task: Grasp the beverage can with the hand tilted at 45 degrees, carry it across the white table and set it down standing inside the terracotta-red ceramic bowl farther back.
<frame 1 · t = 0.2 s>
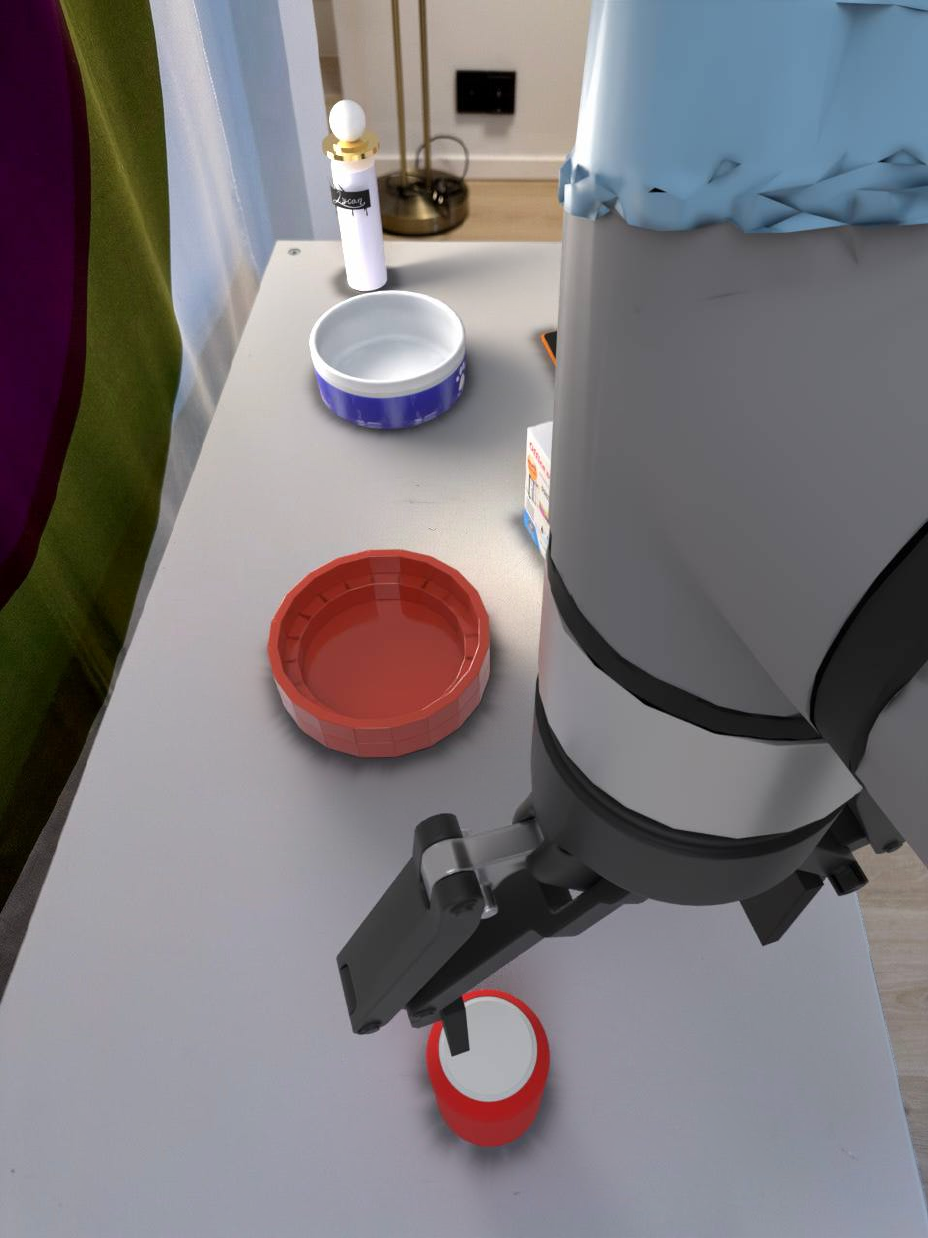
hand: (607, 964, 37), 21 cm above the table, tool pointing down, fingers open, 13 cm apart
beverage can: (488, 1090, 53), on the table
ink box: (583, 545, 79), on the table
dog bowl: (393, 384, 93), on the table
perfume bottle: (368, 286, 103), on the table
red bowl: (385, 669, 71), on the table
smartphone: (598, 382, 92), on the table
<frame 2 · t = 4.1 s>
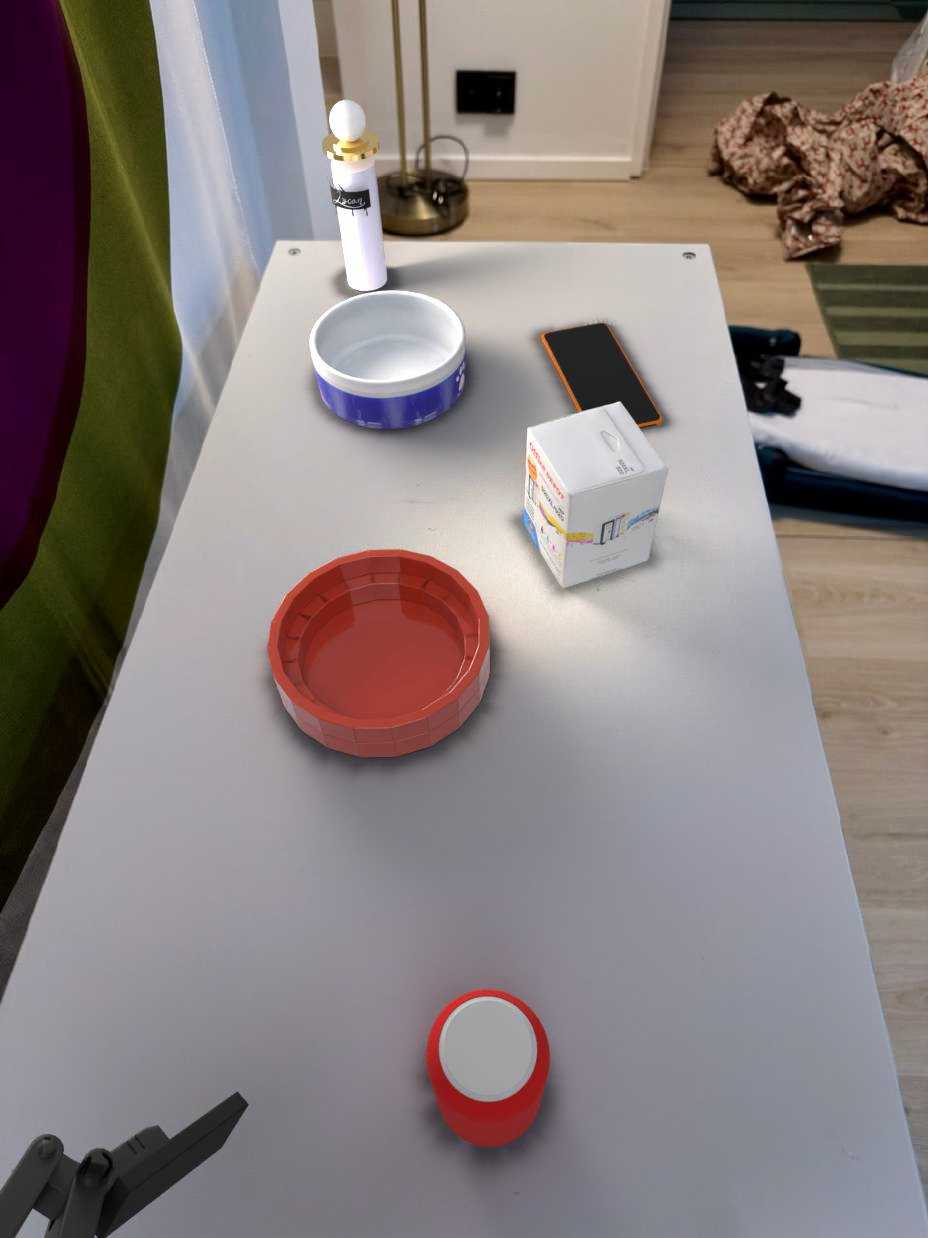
nothing on the table moved.
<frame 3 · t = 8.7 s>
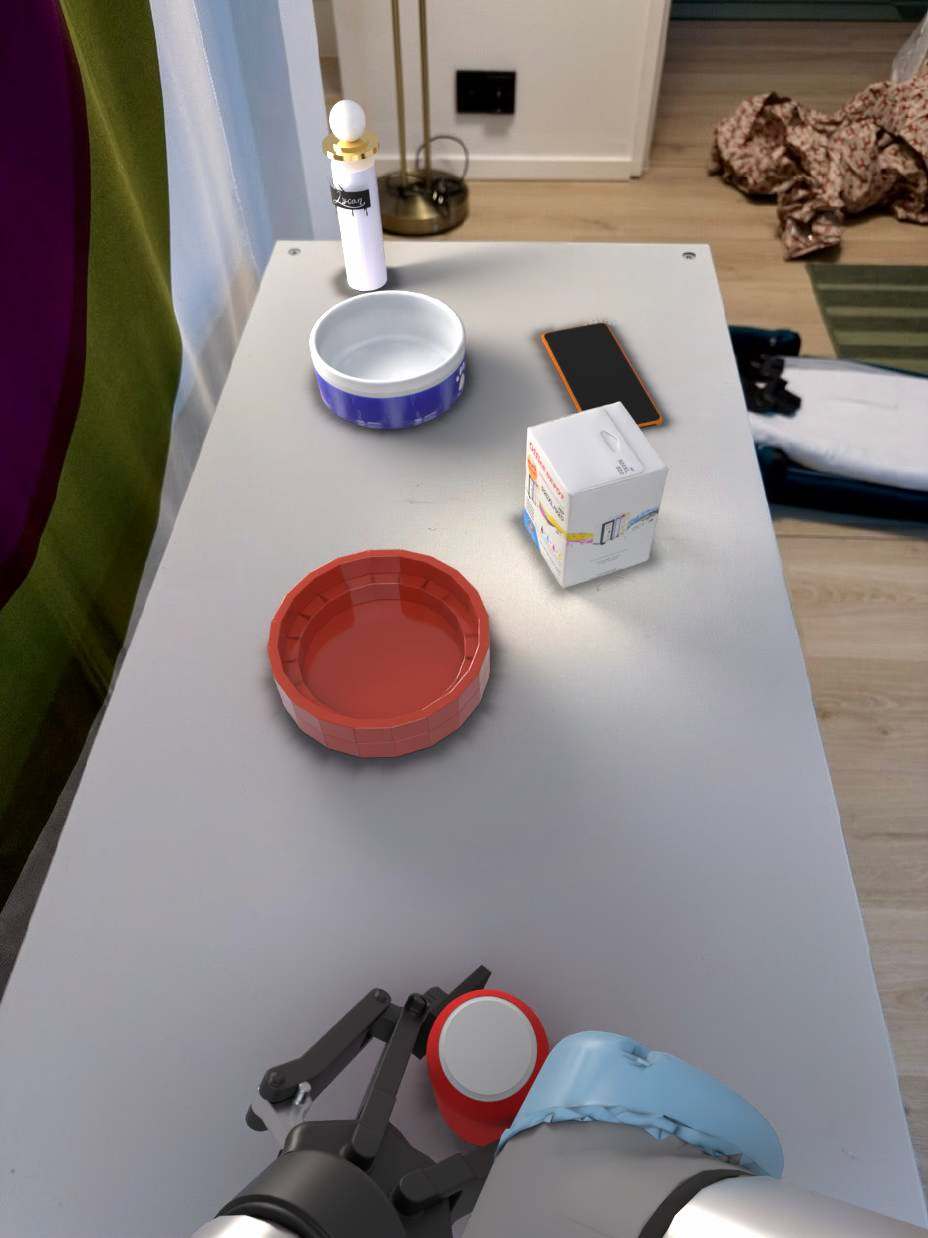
hand: (524, 1023, 52), 4 cm above the table, tool tilted 45°, fingers closed on beverage can, 6 cm apart
beverage can: (488, 1091, 53), on the table, touching gripper
everything else where it was.
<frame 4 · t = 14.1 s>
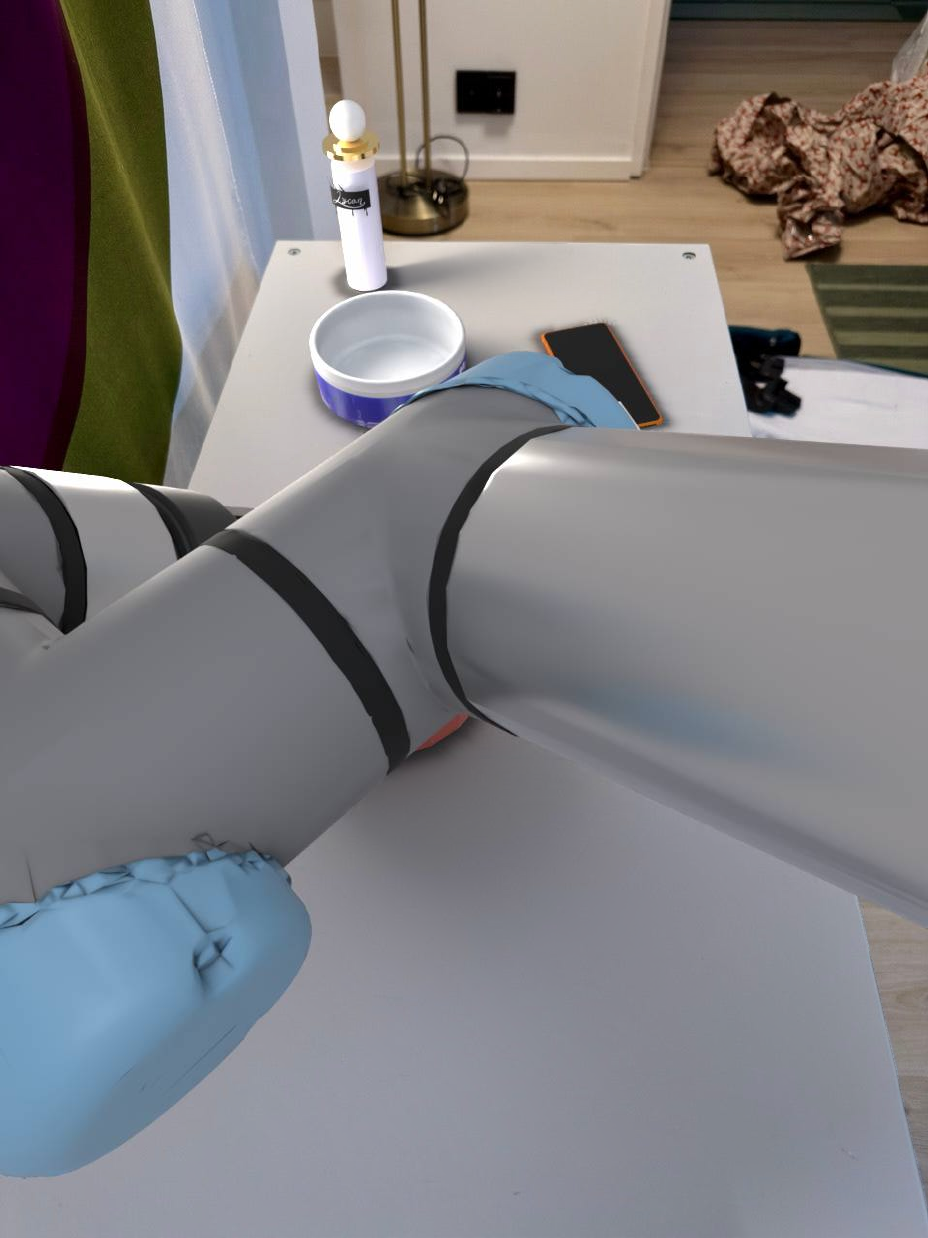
hand: (423, 585, 52), 19 cm above the table, tool tilted 45°, fingers closed on beverage can, 6 cm apart
beverage can: (390, 663, 54), point 15 cm above the table, touching gripper
everything else where it was.
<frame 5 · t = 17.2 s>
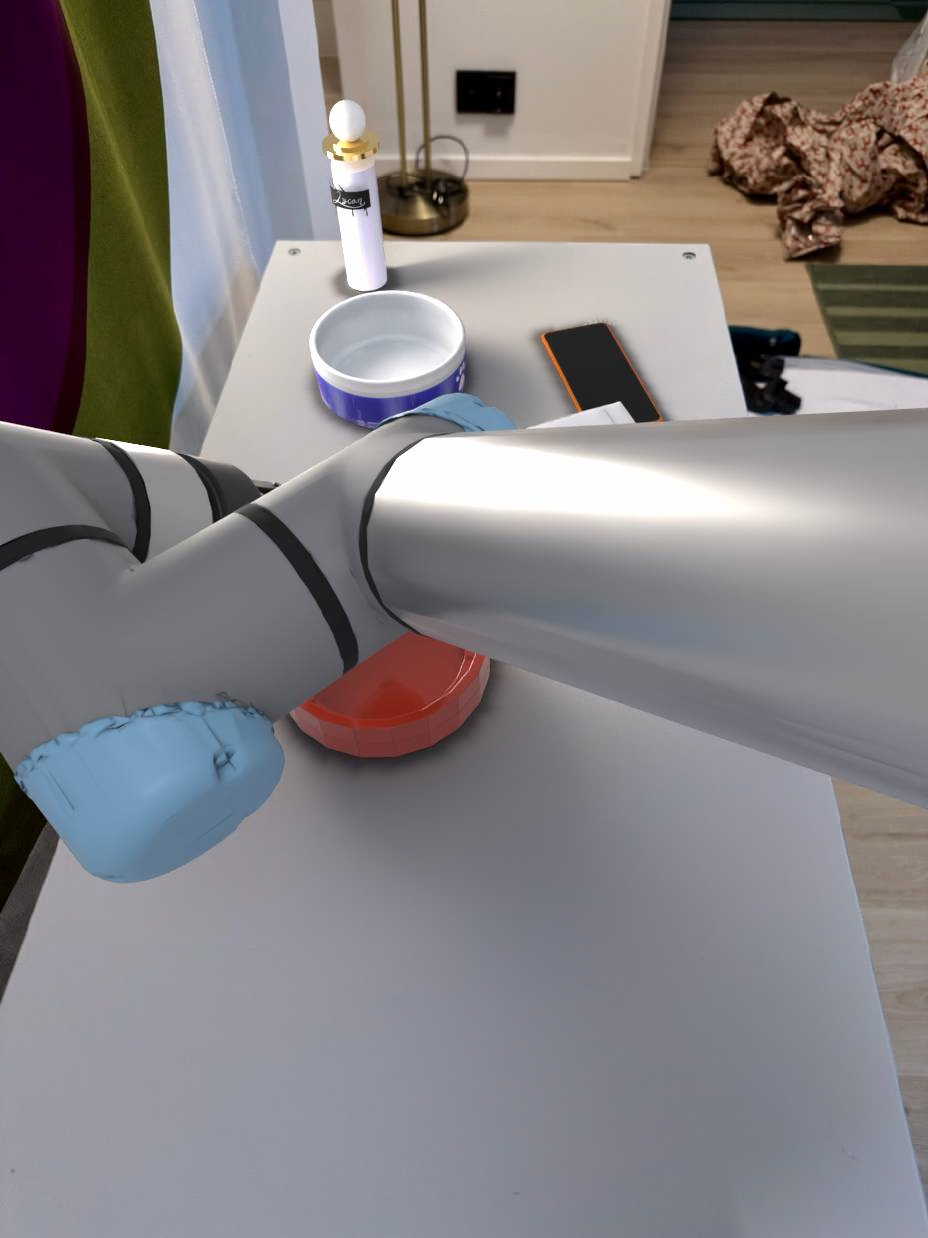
hand: (401, 547, 64), 11 cm above the table, tool tilted 45°, fingers closed on beverage can, 6 cm apart
beverage can: (374, 611, 65), point 8 cm above the table, touching gripper
everything else where it was.
when the fingers open (4 cm above the table, at t = 19.6 s): beverage can stays where it is, resting on red bowl.
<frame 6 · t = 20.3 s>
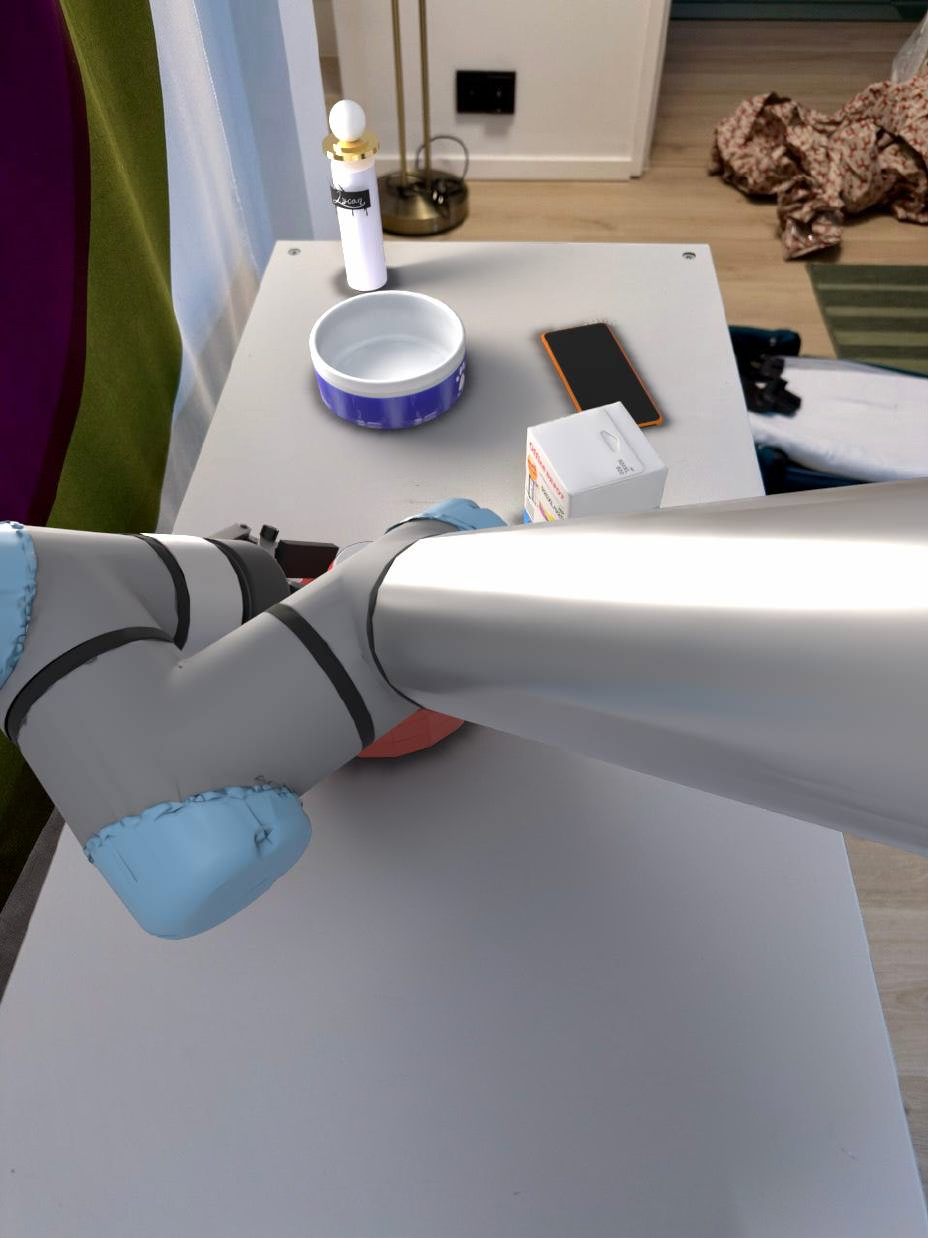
hand: (397, 601, 67), 6 cm above the table, tool tilted 45°, fingers open, 13 cm apart
beverage can: (383, 665, 71), point 1 cm above the table, touching red bowl
everything else where it was.
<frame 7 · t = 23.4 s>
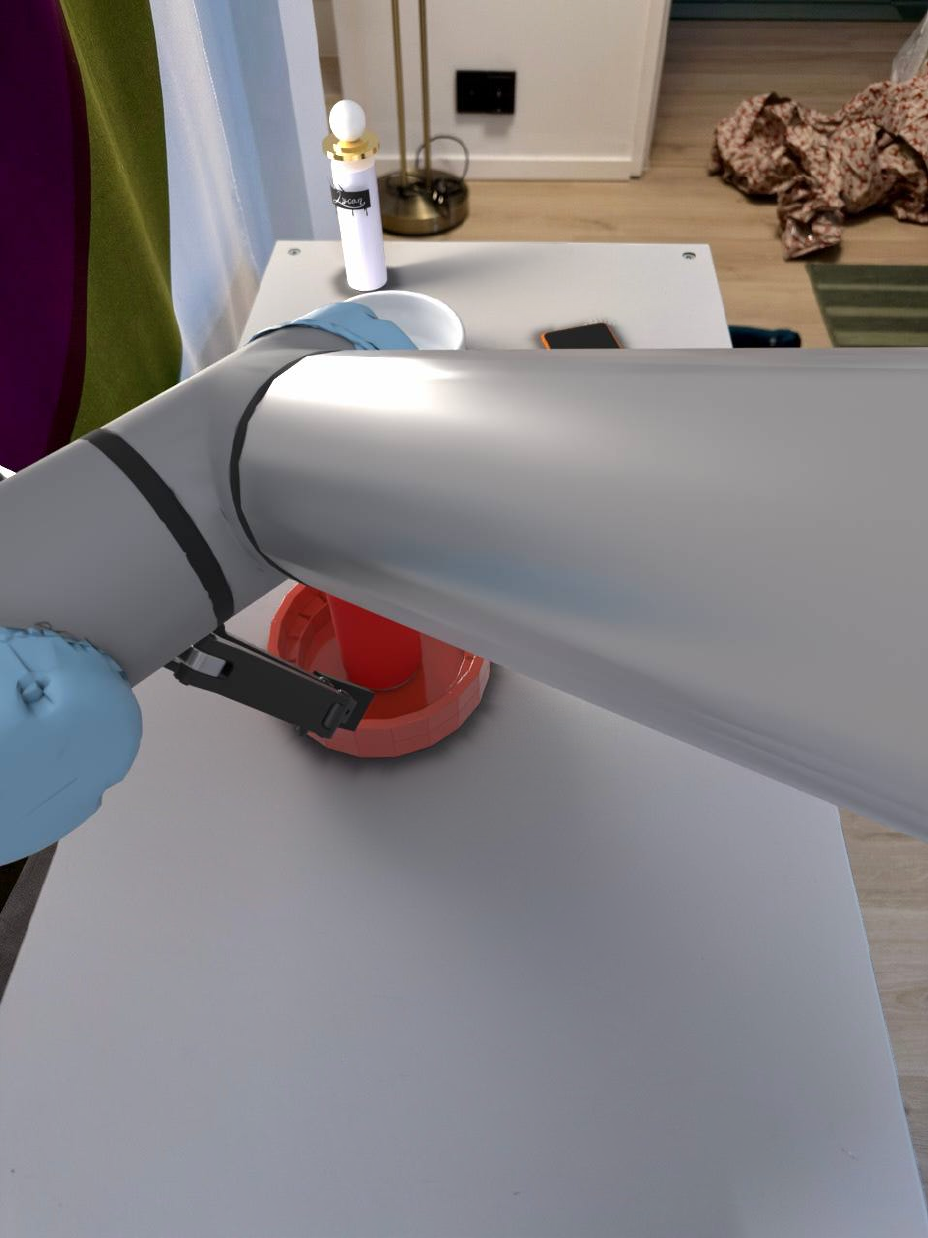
hand: (283, 661, 59), 11 cm above the table, tool tilted 30°, fingers open, 13 cm apart
nothing on the table moved.
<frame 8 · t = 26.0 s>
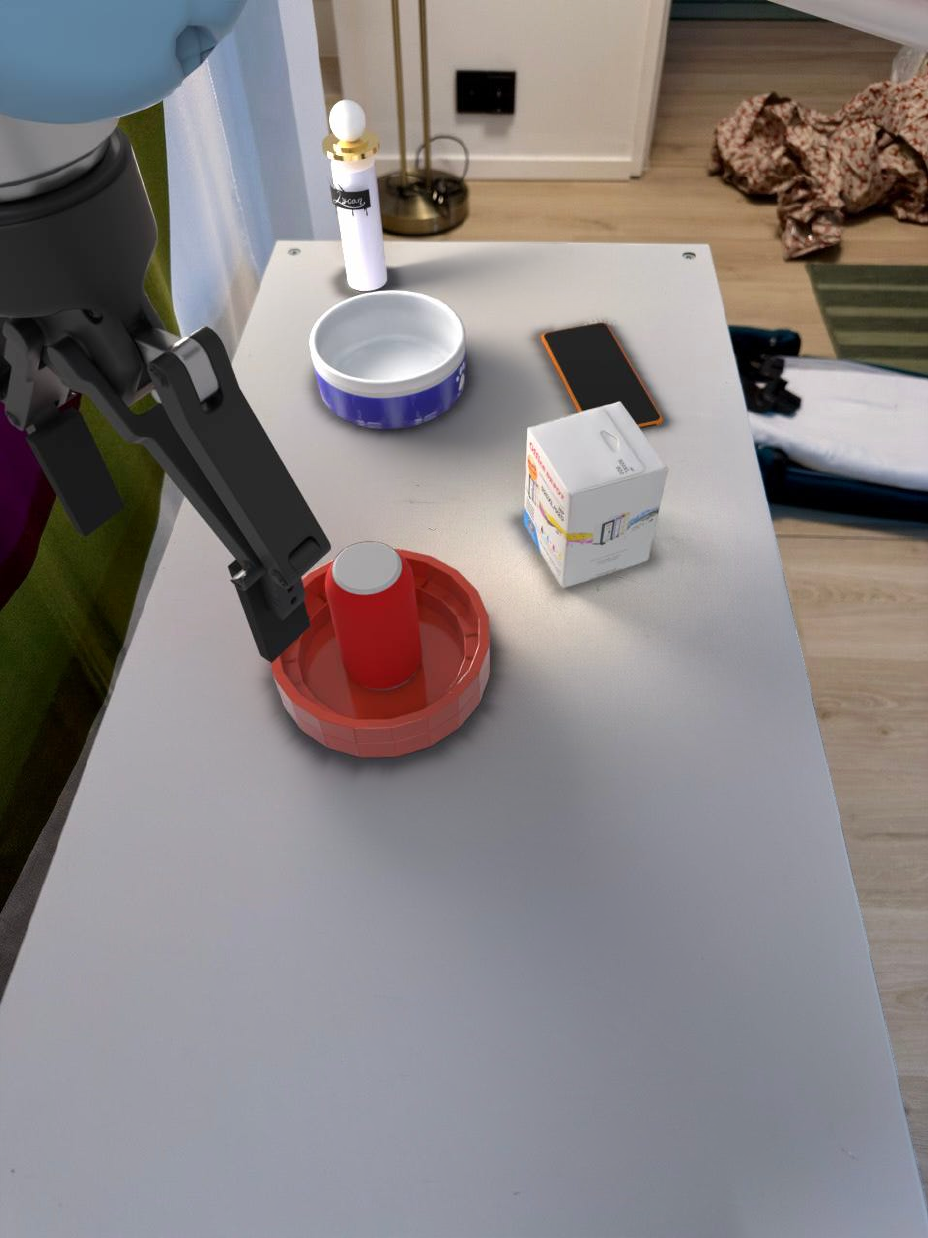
hand: (188, 576, 45), 25 cm above the table, tool pointing down, fingers open, 13 cm apart
nothing on the table moved.
at the end: beverage can inside the target area in the red bowl (0.0 cm from its centre), point 0.6 cm above the red bowl's base; beverage can tilted 0°; the gripper is holding nothing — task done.
